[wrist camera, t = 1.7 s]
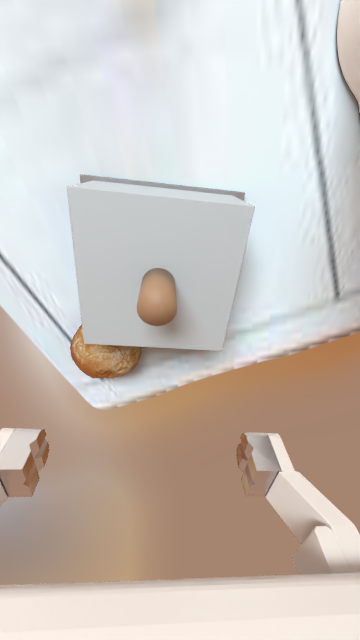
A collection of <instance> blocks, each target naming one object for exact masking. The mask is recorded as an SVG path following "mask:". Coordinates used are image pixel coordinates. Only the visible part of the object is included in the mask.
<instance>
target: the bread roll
mask: <svg viewBox="0 0 360 640" xmlns="http://www.w3.org/2000/svg"><path fill="white" fill-rule="evenodd" d="M70 349H71V356H72V358H73V360H74V362H75V364H76V365H77V366H78V367H79V368H80V370H81V371H82V372H84V373H85V374H86V375H88V376H90V377H92V378H104V377H106V378H107V377H108V378H110V377H118V376H122V375H124V374H126V373H128V372H130V371H131V370H132V369H133V368H134V367H135V366H136V364H137V363H138V360H139V358H140V355H141V347H138V346H119V345H100V344H84V338H83V329H82V324H81V326H80V327H79V329H78V331H77V332H76V334H75V335H74V337H73V340H72V341H71V347H70Z"/></svg>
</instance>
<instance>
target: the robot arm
mask: <svg viewBox="0 0 360 640" xmlns="http://www.w3.org/2000/svg"><path fill="white" fill-rule="evenodd" d="M337 47H338V56H339V62H340V66H341V70H342V73H343V75H344V78H345V80H346V82H347V84H348V86H349V88H350V89H351V91H352V92H353V94H354V95H355V97H356V99H357V101H358V104H359V111H360V0H341V4H340V9H339V16H338V27H337ZM45 436H46V432H45V430H44V429H20V428H2V430H0V507H1V506H2V505H3V504H4V503H5V502H6V501H7V499H8V497H32V495H33V493H34V491H35V488H36V486H37V483H38V481H39V475H38V471H40V470H41V469H42V468H43V467H44V466H45V463H46V460H47V457H48V452H49V444H48V441H47V440H45V439H44V438H45ZM241 441H242V442H241V443H239V444H238V447H237V463H238V467H239V468H240V470H242V472H243V476H242V483H243V487H244V491H245V495H246V496H266V499H267V500H268V501H269V502H270V504H271V505H272V506H273V508H274V509H275V510H276V512H277V513H278V514H279V516H280V517H281V518H282V520H283V521H284V522H285V524H286V525H287V526H288V527H289V529H290V530H291V531H292V533H293V534H294V536H295V537H296V538H297V539H298V541H299V542H300V543H301V546H300V547H299V548H298V549H297V550H296V552H295V553H294V555H293V557H292V558H293V562H294V565H295V568H296V571H297V575H278V576H277V575H276V576H250V577H221V578H191V579H163V580H137V581H136V580H135V581H108V582H79V583H52V584H22V585H0V640H360V535H359V533H358V531H357V529H356V527H355V525H354V524H353V523H352V522H351V521H350V520H349V519H348V518H347V517H346V516H345V515H344V514H343V513H342V512H340V511H339V510H338V509H337V508H336V507H335V506H334V505H333V504H332V503H331V502H330V501H329V500H328V499H327V498H326V497H325V496H324V495H322V493H321V492H319V491H318V490H317V489H316V488H315V487H314V486H313V485H312V484H311V483H310V482H309V481H308V480H307V479H306V478H305V477H303V475H302V474H300V473H299V472H295V470H294V467H293V465H292V463H291V460H290V458H289V456H288V454H287V452H286V449H285V447H284V444H283V442H282V440H281V437H280V436H279V434H277V433H243V434H242V435H241Z"/></svg>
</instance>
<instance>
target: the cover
mask: <svg viewBox="0 0 360 640" xmlns="http://www.w3.org/2000/svg"><path fill="white" fill-rule="evenodd" d="M67 193H68V203H69V212H70V221H71V230H72V239H73V248H74V257H75V266H76V275H77V284H78V293H79V302H80V311H81V320H82V329H83V338H84V344H100V345H119V346H138V347H157V348H176V349H195V350H214V351H222V348H223V343H224V339H225V335H226V330H227V326H228V321H229V317H230V313H231V308H232V304H233V300H234V295H235V291H236V287H237V282H238V278H239V274H240V269H241V265H242V261H243V256H244V252H245V248H246V243H247V239H248V235H249V230H250V226H251V222H252V217H253V213H254V209H255V206H253V205H251V204H249V203H247V202H245V201H243V200H240V199H238V198H236V197H234V196H232V195H224V194H215V193H206V192H196V191H187V190H178V189H169V188H159V187H150V186H141V185H132V184H123V183H113V182H104V181H95V180H93V181H89V182H85V183H81V184H76V185H72V186H68V187H67Z"/></svg>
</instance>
